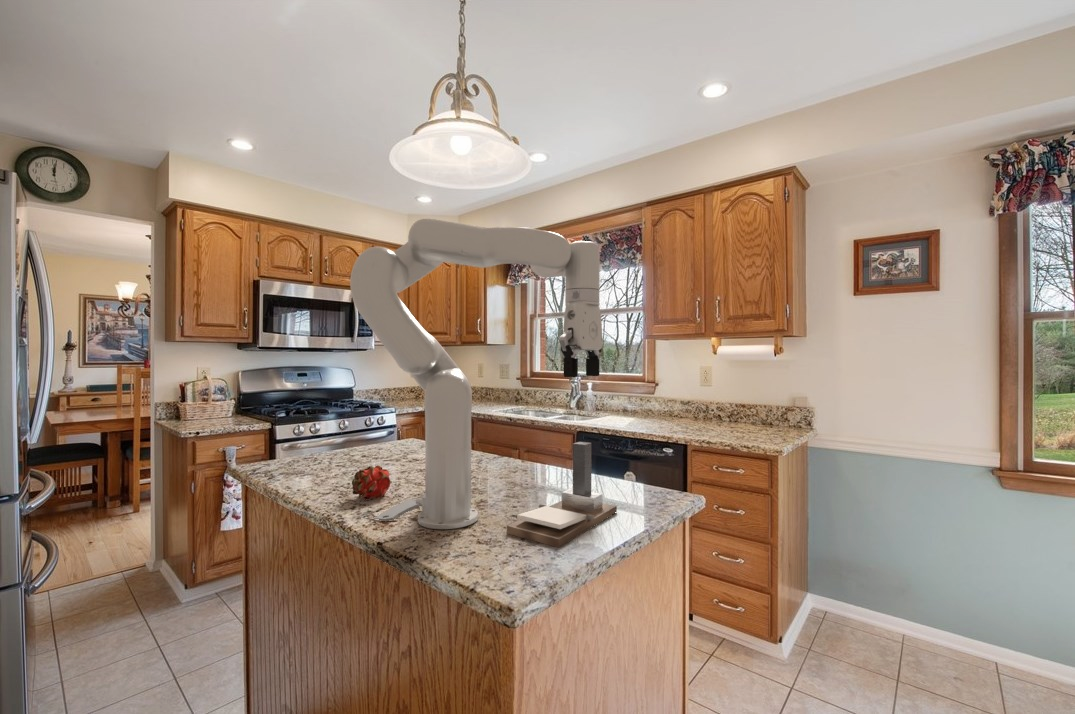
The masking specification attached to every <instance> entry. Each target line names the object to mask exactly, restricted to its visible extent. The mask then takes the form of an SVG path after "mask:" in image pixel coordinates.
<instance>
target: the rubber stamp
mask: <svg viewBox="0 0 1075 714" xmlns="http://www.w3.org/2000/svg"><path fill="white" fill-rule="evenodd" d="M603 498H604V497H603V493H599V492H594V491H593V492H592V442H588V441H587V442H586V441H577V442H574V443H572V488H568V489H566V490H564V491H561V501H562V506H565V507H570V508H575V509H580V510H584V511H589V512H596V511H597V510H599V509H601V508H602V507H603V503H604V502H603Z"/></svg>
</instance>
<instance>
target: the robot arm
mask: <svg viewBox="0 0 1075 714" xmlns="http://www.w3.org/2000/svg"><path fill="white" fill-rule="evenodd" d="M407 240H408V241H407V242H405V243H404V244H402V246H400V247H398V248H397V249H396V250H394V251H393V250H391V249H389V248H387V247H384V246H372V247H368V248H366V249H365V250H364V251H362V252H361V253H360V254H359V256H358V257H357V258H356V260H355V261H354V263H353V266H352V269H351V274H350V281H349V284H350V287H349V288H350V293H351V296H352V300H353V303H354V305H355V307H356V308H355V309H357V311H358V313H359V315H360V316H361V318H362V319H363V320H364V322H365V323H366V325H368V327H369V328H370V329H371V331H372V332H373V334H374V335H375V337H376V338H378V340H379V342H380V343H381V344H382V345H383V346H384V348H385V349H386V350H387V352H388V353H389V354H390V355H391V357H392V358H393V359H394V361H395V363H396V364H397V366H398V367H399V368H400V369H401V370H402V371H404V372H405V373H407V374H409V375H410V376H411V377H412V378H413V379H414V380H415V382H416V383H417V384H418V385H419V386H420V388H421V389H422V390H423V392H424V401H423V402H424V423H425V426H424V428H425V429H424V430H425V432H424V434H425V436H424V437H425V438H424V439H425V443H424V444H425V445H424V447H425V451H424V452H425V457H424V458H425V464H424V465H425V466H424V467H425V468H424V469H425V470H424V471H425V472H424V473H425V476H424V477H425V480H424V481H425V482H424V484H425V485H424V486H425V488H424V489H425V490H424V492H422V493H420V496H419V497H416V498H415V499H416V504H418V505H422V506H421V507H422V508H421V510H422V511H420V512H419V513H418V515H417V523H418V525H420V526H422V527H423V528H428V529H433V530H454V529H460V528H465V527H467V526H470V525H473V524H474V523H476V522H477V521H478V519H479V511H477V509H476V508H473V507H472V409H473V408H472V404H473V391H472V386H471V383H470V381H469V378H468V377H467V376H466V375H465V374H464V372H463V371H462V369H460V368H459V366H458V365H457V363H456V362H455V361H454V359H452V357H451V356H450V355H449V354H448V352H447V351H446V350H445V349H444V348H443V346H442V345H441V344H440V342H439V341H438V340H437V339H436V337H434V336H433V335H432V334H430V333H429V332H428V331H427V330H425V328H424V327H423V326H422V325H421V324H420V322H419V321H418V320H417V319H416V318H415V317H414V315H413V314H412V313H411V311H410V310H409V308H408V307H407V306H406V304H405V303H404V302H403V301H402V300H401V298H400V297H399V293H402V292H403V291H404V290H406V289H407V288H409V287H411V286H412V285H414V284H415V283H416V282H418V281H420V280H421V279H422V278H424V277H426V276H428V275H429V274H430V273H432V272H433V271H434V270H436V269H437V268H438V267H440V266H441V265H442V264H444V263H448V264H449V263H450V264H455V265H462V266H468V267H475V268H492V267H494V266H498V265H499V266H500V265H505V264H509V265H510V264H515V265H525V266H530V269H531V270H532V272H533V274H535V275H537V276H539V277H541V278H556V277H565V279H564V280H565V281H564V282H565V283H564V285H565V286H564V287H565V294H564V296H565V297H564V298H565V299H564V301H565V302H564V303H565V304H564V305H565V307H564V318H563V333H562V334H561V335H560V336H559V338H558V341H559V345H560V351H561V355H562V359H563V377H564V378H578V376H579V359H578V358H577V356H578V353H579V351H584V352H585V354H586V357H587V358H585V375H586V377H599V376H600V359H601V353H602V348H603V326H602V325H603V324H602V316H601V315H602V314H601V308H600V268H601V267H600V265H601V264H600V259H601V256H600V247H599V245H598V244H597V243H596V242H593V241H590V240H589V241H587V240H586V241H585V240H580V241H579V240H577V241H573V242H569V240H567V239H566V238H565V237H564V236H563V235H562V234H561V235H560V234H559V233H556V232H553V231H547V230H541V229H538V228H537V229H535V228H530V227H520V226H519V227H517V226H515V227H512V226H507V227H503V226H502V227H501V226H500V227H499V226H496V227H485V226H478V225H471V224H465V223H459V222H453V221H446V220H441V219H436V218H421V219H418V220H416V221H415V222H414V223H412V225H411V227H410V228H409V231H408V239H407Z"/></svg>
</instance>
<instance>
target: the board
mask: <svg viewBox="0 0 1075 714" xmlns="http://www.w3.org/2000/svg"><path fill="white" fill-rule="evenodd" d="M544 506H546V505H545V504H544V503H543V504H542V503H539V504H538V508H541V507H544ZM617 506H618V505H615V504H610V503H609V504H608V503H604V502H603V507H602V508H601V509H599V510H597V511H596V512H589V511H584V510H580V509H575V508H570V507H565V506H562V500H560V501H557V502H556V503H553V504H552V505H549V506H548V507H552V508H557V509H561V510H566V511H571V512H575V513H580V514H585V515H586V519H585V520H582V521H580V522H577V523H575V524H572V525H570V526H567V527H565V528H562V529H557V528H553V527H549V526H545V525H541V524H537V523H532V522H528V521H524V520H520V519H517V521H515V522H512V523H510V524H508V525H506V534H508V535H510V536H515V537H518V538H523V539H526V540H530V541H532V542H536V543H541V544H544V545H549V546H552V547H555V546H556V548H560V547H562V546H564V545H566V544H567V543H568V541H569V542H570V541H573V539H576V538H577V537H578V536H581V535H582V534H584V533H585V532H587V531H589V530H591V529H592V528H594V527H595V526H597V525H599V524H600V523H602V522H603V521H602V520H604V519H605V520H607V519H608V518H607V517H609V516H610V517H612V516H613V515H612V514H614V513H615V512H618V511H617ZM538 508H537V509H538ZM615 514H616V513H615ZM615 514H614V515H615ZM611 515H612V516H611ZM610 517H609V518H610ZM606 518H607V519H606ZM605 520H604V521H605ZM601 521H602V522H601ZM599 522H600V523H599ZM598 523H599V524H598ZM596 524H597V525H596ZM594 525H595V526H594ZM593 526H594V527H593ZM591 527H592V528H591ZM588 529H589V530H588ZM583 532H584V533H583Z"/></svg>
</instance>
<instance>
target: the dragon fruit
mask: <svg viewBox="0 0 1075 714" xmlns="http://www.w3.org/2000/svg"><path fill="white" fill-rule="evenodd" d="M390 475H391V474H390V471H389V470H388V469H387V468H383V467H382V466H381V465H375V466H372V465H371V466H368V467H367V468H364V469H360V470H359V471H356V472H355V475H354V476H353V479H352V480H351V485H352V490H353V491H352V494H353V495H358V497H359V498H361V499H362V500H365V501H366V499H368V500H367V501H370V499H371V498H375V499H382V498H383V497H384V496H383V495H385V496H386V493H387V491H388V490H389V489H390V486H391V484H393V481H391V479H390Z"/></svg>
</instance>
